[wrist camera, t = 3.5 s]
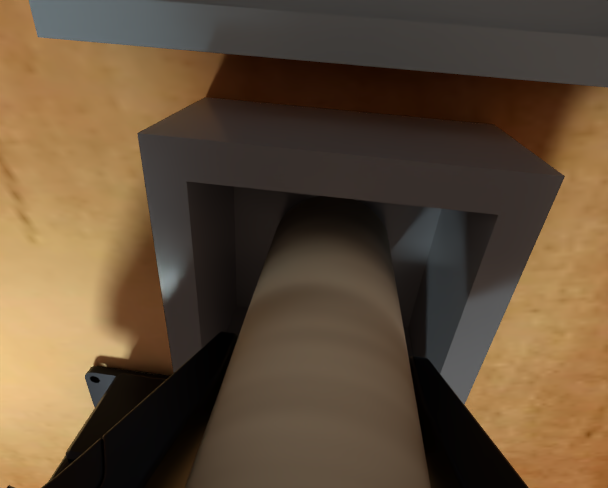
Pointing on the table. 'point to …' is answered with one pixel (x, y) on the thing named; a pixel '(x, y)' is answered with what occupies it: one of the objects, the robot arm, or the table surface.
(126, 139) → the table surface
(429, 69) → the tray
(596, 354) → the table surface
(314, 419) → the dowel
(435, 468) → the robot arm
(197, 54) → the table surface
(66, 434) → the table surface
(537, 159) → the grey square bin
